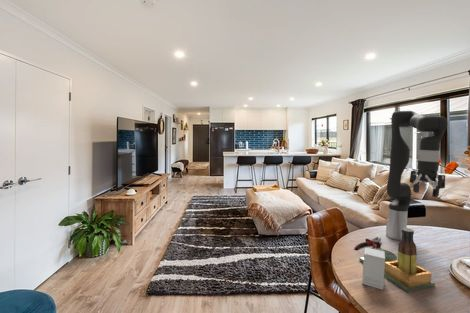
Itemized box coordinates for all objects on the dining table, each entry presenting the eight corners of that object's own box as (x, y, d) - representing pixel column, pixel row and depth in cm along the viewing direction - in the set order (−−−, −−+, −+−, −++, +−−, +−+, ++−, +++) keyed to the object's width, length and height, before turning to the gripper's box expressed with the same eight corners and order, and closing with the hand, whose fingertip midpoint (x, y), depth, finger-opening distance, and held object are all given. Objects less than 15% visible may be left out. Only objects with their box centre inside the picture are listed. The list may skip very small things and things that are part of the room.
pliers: (370, 251, 118) (387, 238, 132) (353, 245, 125) (371, 233, 138) (370, 257, 119) (387, 243, 132) (353, 250, 125) (371, 238, 139)
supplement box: (383, 290, 90) (385, 258, 89) (361, 284, 94) (363, 253, 93) (383, 280, 97) (385, 251, 96) (363, 275, 100) (364, 246, 100)
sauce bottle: (412, 273, 99) (415, 228, 98) (418, 282, 93) (421, 233, 92) (394, 270, 101) (397, 226, 100) (399, 278, 95) (402, 231, 94)
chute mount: (359, 260, 113) (359, 249, 112) (383, 257, 116) (383, 246, 116) (407, 291, 90) (407, 277, 89) (434, 286, 93) (435, 273, 93)
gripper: (452, 161, 102) (448, 198, 103) (419, 158, 115) (416, 190, 117) (438, 162, 100) (434, 199, 101) (407, 158, 114) (404, 191, 115)
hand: (425, 194), depth 109 cm, fingers open, 8 cm apart
